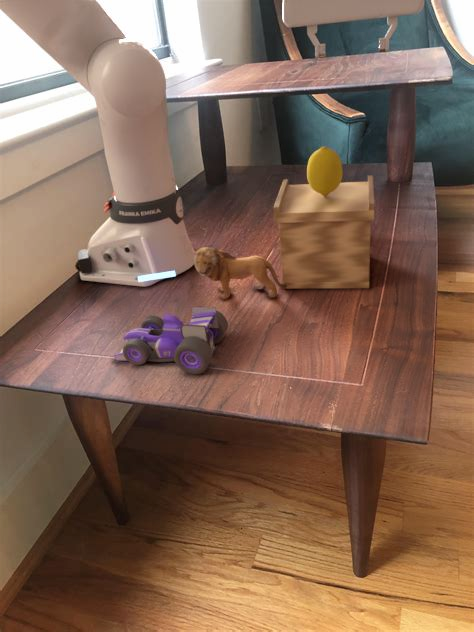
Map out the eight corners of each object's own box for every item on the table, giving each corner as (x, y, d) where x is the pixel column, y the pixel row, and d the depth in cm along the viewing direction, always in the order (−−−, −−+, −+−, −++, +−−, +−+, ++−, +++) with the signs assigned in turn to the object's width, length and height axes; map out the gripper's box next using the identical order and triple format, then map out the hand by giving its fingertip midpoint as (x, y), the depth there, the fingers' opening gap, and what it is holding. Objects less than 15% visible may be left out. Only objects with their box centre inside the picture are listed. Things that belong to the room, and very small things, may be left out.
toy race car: (139, 330, 85) (130, 294, 82) (230, 336, 81) (224, 299, 78) (110, 367, 78) (99, 329, 74) (209, 376, 73) (202, 336, 70)
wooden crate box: (280, 290, 91) (273, 207, 84) (288, 255, 102) (283, 179, 94) (372, 290, 88) (374, 203, 80) (371, 254, 99) (372, 175, 91)
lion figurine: (199, 305, 90) (190, 256, 85) (201, 289, 94) (193, 242, 90) (288, 297, 89) (284, 247, 84) (286, 281, 93) (282, 233, 89)
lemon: (312, 190, 91) (310, 141, 87) (345, 190, 89) (345, 141, 85) (303, 202, 87) (301, 151, 83) (338, 203, 85) (337, 151, 81)
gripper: (274, -45, 76) (281, 64, 83) (430, -66, 71) (422, 50, 79) (280, -44, 81) (286, 58, 88) (425, -64, 76) (419, 45, 84)
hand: (351, 54), depth 83 cm, fingers open, 8 cm apart
